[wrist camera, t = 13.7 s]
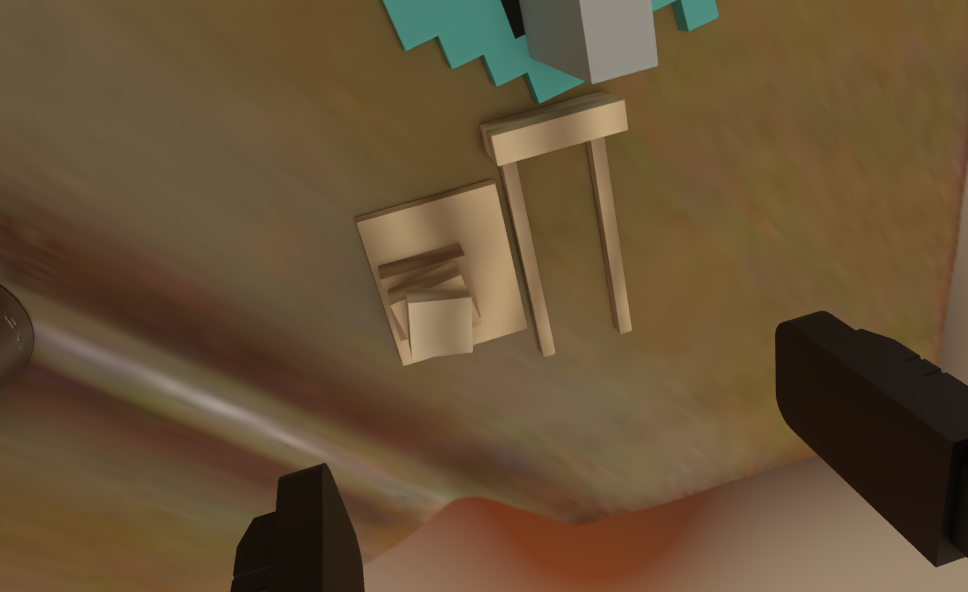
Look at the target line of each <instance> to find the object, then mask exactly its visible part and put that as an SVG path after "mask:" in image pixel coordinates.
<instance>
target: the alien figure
mask: <svg viewBox="0 0 968 592" xmlns="http://www.w3.org/2000/svg"><path fill="white" fill-rule="evenodd" d="M382 2H383V4H384V6H385V9H386V11H387V13H388V15H389V17H390V20H391V22H392V24H393V26H394V28H395V31H396V33H397V35H398V37H399V39H400V41H401V44H402V46H403V48H404V49H405V51H408V50H410V49H412V48H414V47H416V46H418V45H420V44H422V43H424V42H426V41H428V40H430V39H432V38H434V37H436V38H437V40H438V42H439V44H440V47H441V49H442V51H443V54H444V56H445V58H446V61H447V63H448V65H449V67H450V68H451V69H455V68H457V67H459V66H461V65H463V64H465V63H467V62H469V61H471V60H473V59H475V58H478V57H480V56H481V57H482V60H483V62H484V65H485V67H486V70H487V72H488V74H489V77H490V79H491V82H492V84H493V85H495V86H496V87H498V86H500V85H502V84H504V83H506V82H508V81H511V80H513V79H515V78H517V77H519V76H521V75H523V74H524V76H525V79H526V81H527V84H528V87H529V89H530V92H531V95H532V97H533V100H534V101H536V102H538V103H539V104H540V103H542V102H544V101H546V100H548V99H550V98H552V97H554V96H556V95H559V94H561V93H563V92H565V91H567V90H569V89H571V88H573V87H575V86H577V85H579V84H581V83H583V82H585V81H583V80H581V79H578V78H576V77H574V76H571V75H569V74H567V73H564V72H562V71H559V70H557V69H555V68H552V67H550V66H548V65H545V64H543V63H541V62H538V61H536V60H533V59H531V58H530V56H529V50H528V45H527V40H526V34H525V29H524V24H523V18H522V13H521V8H520V3H519V0H382ZM651 2H652V12H653V11H655V10H657V9H659V8H661V7H664V6H666V5H668V4H670V3H672V6H673V10H674V13H675V17H676V21H677V25H678V29H679V30H683V31H691V30H693V29H695V28H697V27H699V26H701V25H703V24H705V23H707V22H710V21H712V20H714V19H716V18H718V17H719V15H718V11H717V7H716V2H715V0H651Z"/></svg>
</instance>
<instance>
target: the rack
mask: <svg viewBox="0 0 968 592" xmlns="http://www.w3.org/2000/svg"><path fill="white" fill-rule="evenodd" d="M479 125H480V129H481V134H482V138H483V143H484V147H485V152H486V153H487V154H488V155H489V157H490V158H491V159H492V160H493V161H494V162H495V163H496V165H497V166H500V171H501V175H502V180H503V184H504V189H505V194H506V198H507V203H508V207H509V212H510V216H511V221H512V226H513V230H514V235H515V239H516V244H517V249H518V253H519V258H520V262H521V267H522V271H523V276H524V281H525V285H526V290H527V294H528V299H529V304H530V308H531V313H532V317H533V322H534V326H535V331H536V336H537V340H538V345H539V349H540V352H541V353H542V355H543V357H547V356H550V355H553V354H556V353H555V348H554V344H553V339H552V334H551V329H550V324H549V319H548V315H547V310H546V305H545V300H544V295H543V290H542V285H541V281H540V276H539V271H538V266H537V261H536V256H535V251H534V247H533V242H532V237H531V232H530V227H529V222H528V217H527V213H526V208H525V203H524V198H523V193H522V188H521V184H520V179H519V174H518V169H517V164H516V161H519V160H522V159H526V158H530V157H533V156H537V155H540V154H544V153H547V152H551V151H554V150H558V149H562V148H565V147H569V146H572V145H576V144H579V143H583V142H586V146H587V152H588V159H589V165H590V172H591V178H592V185H593V191H594V197H595V204H596V210H597V217H598V223H599V229H600V236H601V242H602V249H603V255H604V262H605V268H606V274H607V281H608V287H609V294H610V300H611V307H612V313H613V319H614V326H615V328H616V329H617V331H618V332H619V333H620V334H622V333H625V332H628V331H632V328H631V321H630V314H629V307H628V300H627V293H626V286H625V279H624V272H623V265H622V258H621V251H620V244H619V237H618V230H617V223H616V216H615V209H614V202H613V195H612V188H611V181H610V174H609V167H608V160H607V153H606V146H605V139H604V136H608V135H611V134H615V133H619V132H622V131H626V130H628V125H627V117H626V109H625V101H624V99H622V98H619V97H617V96H614V95H612V94H610V93H607V92H605V91H603V90H602V91H599V92H595V93H592V94H588V95H584V96H581V97H577V98H573V99H570V100H566V101H562V102H559V103H555V104H552V105H548V106H544V107H541V108H537V109H533V110H530V111H526V112H522V113H519V114H515V115H512V116H508V117H504V118H501V119H497V120H493V121H490V122H486V123H482V124H479ZM356 223H357V226H358V229H359V232H360V235H361V238H362V241H363V245H364V248H365V251H366V254H367V257H368V260H369V263H370V266H371V269H372V272H373V275H374V278H375V281H376V284H377V287H378V290H379V293H380V296H381V299H382V302H383V305H384V308H385V311H386V314H387V317H388V320H389V323H390V326H391V329H392V332H393V335H394V338H395V341H396V344H397V347H398V350H399V353H400V356H401V359H402V362H403V365H404V366H405V365H408V364H412V363H415V362H418V361H422V360H425V359H428V358H432V357H426V358H418V359H412V356H411V352H410V347H409V341H408V339H407V340H403V341H400V338H399V335H398V332H397V329H396V326H395V323H394V320H393V317H392V314H391V311H390V308H389V305H388V302H387V299H386V296H385V293H384V289H383V286H382V283H381V280H380V275H379V269H378V266H380V265H383V264H387V263H390V262H394V261H397V260H401V259H404V258H407V257H411V256H414V255H418V254H421V253H425V252H428V251H432V250H435V249H439V248H442V247H445V246H449V245H452V244H456V243H459V244H460V246H461V248H462V250H463V252H464V254H465V257H466V261H467V264H468V268H469V272H470V276H471V280H472V284H473V288H474V292H475V295H476V299H477V303H478V307H479V311H480V315H481V317H480V320H481V322H482V324H480V325H478V326H476V327H473V328H472V338H473V345H475V344H478V343H481V342H485V341H488V340H491V339H495V338H498V337H501V336H504V335H508V334H511V333H514V332H518V331H521V330H524V329H528V327H527V323H526V319H525V314H524V310H523V305H522V301H521V296H520V292H519V287H518V283H517V278H516V274H515V269H514V265H513V260H512V256H511V252H510V247H509V243H508V238H507V234H506V229H505V225H504V220H503V216H502V211H501V207H500V202H499V198H498V193H497V189H496V185H495V183H494V181H493V180H492V179H490V180H487V181H483V182H480V183H476V184H473V185H469V186H466V187H462V188H458V189H455V190H451V191H448V192H444V193H441V194H437V195H434V196H430V197H427V198H423V199H419V200H416V201H412V202H409V203H405V204H402V205H398V206H395V207H391V208H388V209H384V210H380V211H377V212H373V213H370V214H366V215H363V216H359V217H356Z"/></svg>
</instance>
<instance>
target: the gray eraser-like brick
mask: <svg viewBox="0 0 968 592" xmlns="http://www.w3.org/2000/svg"><path fill="white" fill-rule="evenodd" d="M519 3H520V8H521V13H522V18H523V24H524V29H525V34H526V40H527V45H528V50H529V56H530V58H531V59H533V60H536V61H538V62H541V63H543V64H545V65H548V66H550V67H552V68H555V69H557V70H559V71H562V72H564V73H567V74H569V75H571V76H574V77H576V78H578V79H581V80H583V81H585V82H588V83H590V84H595V83H598V82H602V81H606V80H609V79H613V78H616V77H620V76H623V75H627V74H631V73H634V72H638V71H641V70H645V69H649V68H652V67H656V66H658V59H657V49H656V40H655V31H654V21H653V12H652V2H651V0H519Z"/></svg>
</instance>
